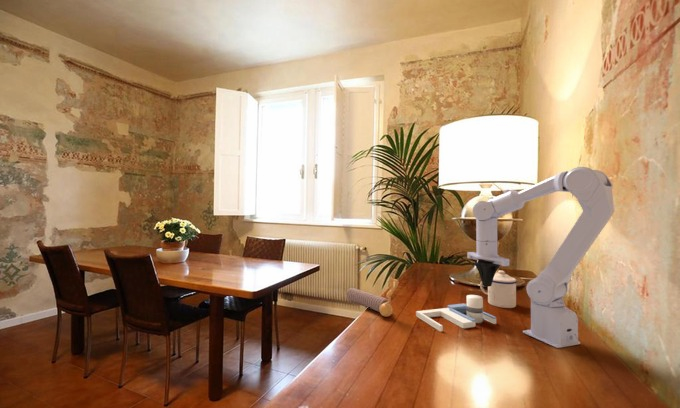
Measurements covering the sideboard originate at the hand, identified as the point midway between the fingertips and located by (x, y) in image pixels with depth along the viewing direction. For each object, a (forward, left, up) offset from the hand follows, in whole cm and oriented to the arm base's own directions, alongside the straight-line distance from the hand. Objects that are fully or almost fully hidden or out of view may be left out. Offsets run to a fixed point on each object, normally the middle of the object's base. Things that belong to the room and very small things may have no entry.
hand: (486, 285), depth 89 cm
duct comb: (+2, +10, -10) cm, 14 cm away
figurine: (+10, +28, -10) cm, 31 cm away
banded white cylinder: (0, +5, -10) cm, 11 cm away
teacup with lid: (+11, -15, -10) cm, 21 cm away
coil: (+20, +31, -10) cm, 38 cm away
